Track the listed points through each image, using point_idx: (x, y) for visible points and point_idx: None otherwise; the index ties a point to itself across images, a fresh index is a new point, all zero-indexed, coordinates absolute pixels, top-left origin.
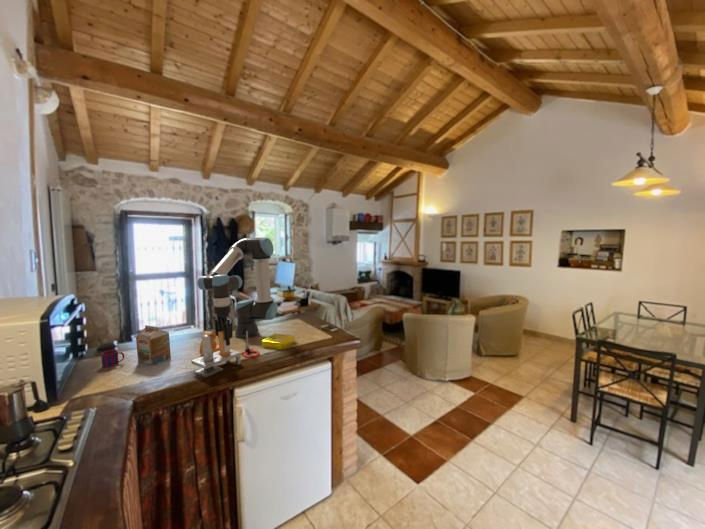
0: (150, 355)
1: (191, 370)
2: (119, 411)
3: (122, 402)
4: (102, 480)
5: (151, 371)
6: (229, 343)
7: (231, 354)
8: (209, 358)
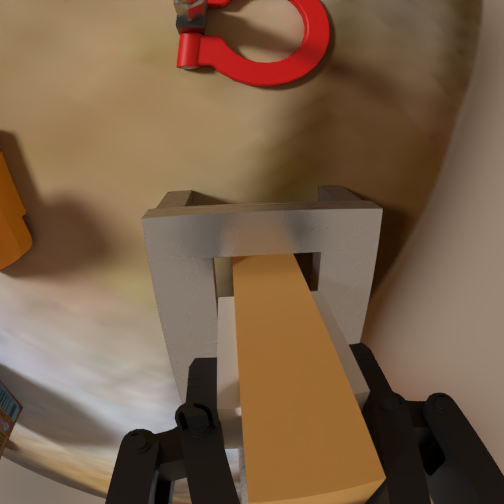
0: (7, 436)
1: (168, 382)
2: None
3: (240, 492)
4: None
5: (71, 429)
6: (372, 359)
7: (344, 281)
8: None
